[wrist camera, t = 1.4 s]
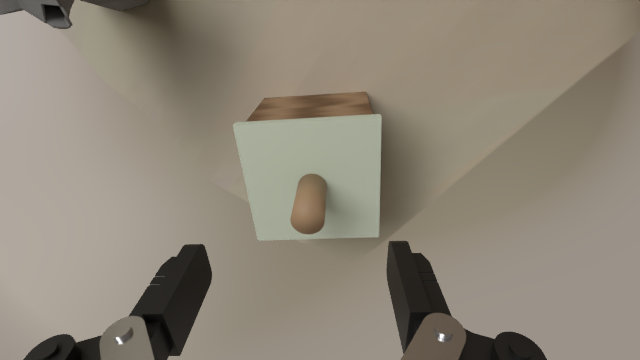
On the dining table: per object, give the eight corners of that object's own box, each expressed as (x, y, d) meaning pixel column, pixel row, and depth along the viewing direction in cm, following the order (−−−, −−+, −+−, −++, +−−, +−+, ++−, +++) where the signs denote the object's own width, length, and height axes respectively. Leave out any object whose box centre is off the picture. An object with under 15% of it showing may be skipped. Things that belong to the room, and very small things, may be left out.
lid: (380, 113, 29) (391, 142, 23) (378, 231, 36) (386, 277, 30) (235, 122, 31) (210, 151, 24) (259, 235, 37) (244, 279, 31)
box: (365, 91, 39) (374, 119, 30) (365, 181, 46) (373, 228, 36) (264, 98, 40) (241, 126, 31) (278, 185, 47) (263, 231, 37)
